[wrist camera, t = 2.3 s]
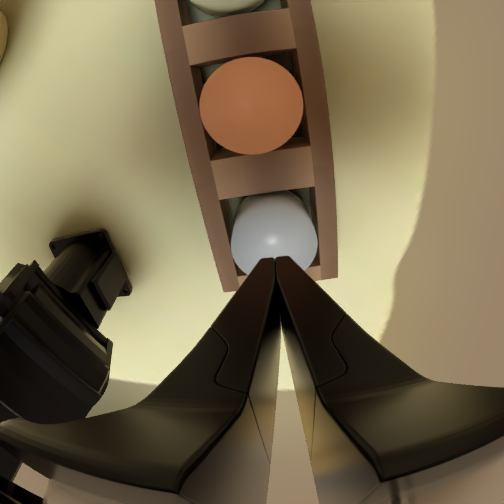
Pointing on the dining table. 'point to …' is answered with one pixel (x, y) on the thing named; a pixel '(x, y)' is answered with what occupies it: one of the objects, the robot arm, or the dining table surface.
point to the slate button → (272, 230)
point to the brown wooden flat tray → (258, 165)
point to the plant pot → (3, 34)
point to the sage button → (226, 6)
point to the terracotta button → (251, 105)
